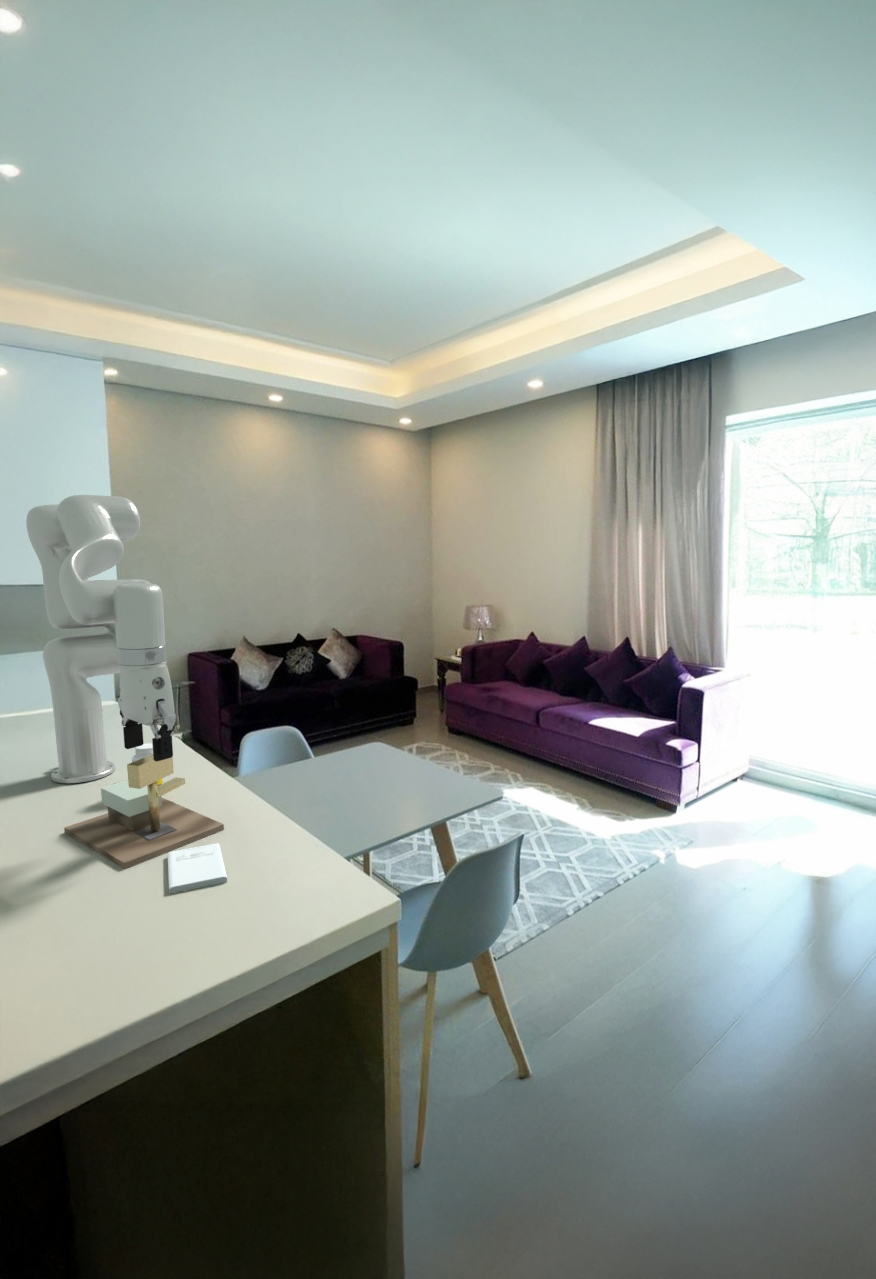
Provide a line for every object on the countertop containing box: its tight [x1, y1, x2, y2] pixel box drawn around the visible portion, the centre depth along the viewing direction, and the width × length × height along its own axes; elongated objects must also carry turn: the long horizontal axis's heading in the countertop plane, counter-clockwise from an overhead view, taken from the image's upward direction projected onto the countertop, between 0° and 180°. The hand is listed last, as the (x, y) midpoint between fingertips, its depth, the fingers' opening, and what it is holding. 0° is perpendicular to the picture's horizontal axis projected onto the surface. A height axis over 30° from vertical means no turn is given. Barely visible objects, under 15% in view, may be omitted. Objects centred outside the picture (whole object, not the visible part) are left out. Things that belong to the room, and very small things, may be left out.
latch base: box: [63, 796, 225, 870], centre depth 115 cm, size 22×18×4 cm
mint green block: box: [100, 779, 162, 817], centre depth 117 cm, size 10×6×3 cm, turn 52°
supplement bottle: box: [131, 742, 164, 786], centre depth 133 cm, size 6×6×10 cm
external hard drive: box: [167, 842, 228, 895], centre depth 102 cm, size 2×8×12 cm
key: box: [126, 754, 186, 830], centre depth 114 cm, size 11×2×13 cm, turn 162°
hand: (148, 752), depth 112 cm, fingers open, 9 cm apart
